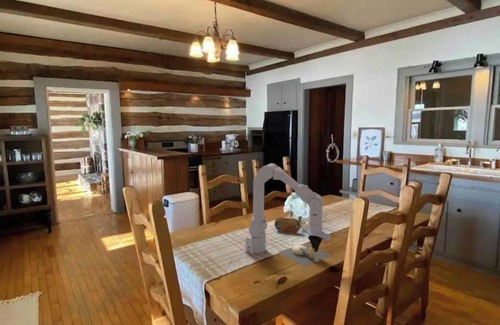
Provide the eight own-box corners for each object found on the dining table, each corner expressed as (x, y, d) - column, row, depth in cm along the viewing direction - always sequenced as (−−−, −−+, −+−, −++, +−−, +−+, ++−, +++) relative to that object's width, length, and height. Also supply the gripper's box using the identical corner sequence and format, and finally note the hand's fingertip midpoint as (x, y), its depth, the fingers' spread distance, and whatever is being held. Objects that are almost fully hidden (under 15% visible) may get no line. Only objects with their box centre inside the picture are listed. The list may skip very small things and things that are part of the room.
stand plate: (304, 269, 129) (304, 265, 129) (277, 254, 144) (277, 251, 144) (333, 258, 139) (333, 255, 138) (305, 246, 154) (305, 242, 154)
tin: (274, 230, 177) (274, 216, 176) (276, 229, 180) (276, 215, 179) (299, 234, 170) (299, 220, 169) (300, 232, 173) (300, 218, 172)
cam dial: (289, 251, 144) (289, 241, 143) (300, 247, 147) (300, 238, 147) (307, 261, 133) (307, 251, 132) (319, 257, 136) (319, 247, 135)
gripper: (297, 220, 138) (297, 248, 140) (323, 228, 127) (323, 259, 129) (307, 217, 143) (307, 244, 144) (333, 224, 131) (333, 254, 133)
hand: (315, 251), depth 137 cm, fingers closed, pressing on cam dial
